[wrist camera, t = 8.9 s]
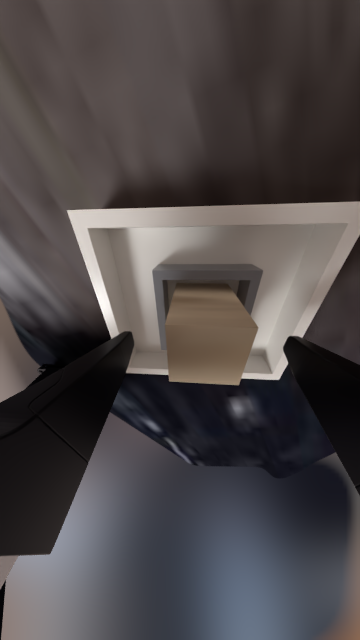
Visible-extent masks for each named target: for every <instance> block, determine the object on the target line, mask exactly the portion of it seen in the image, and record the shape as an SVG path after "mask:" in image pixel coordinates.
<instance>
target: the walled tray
mask: <svg viewBox="0 0 360 640" xmlns="http://www.w3.org/2000/svg"><path fill="white" fill-rule="evenodd" d="M67 212H68V215H69V217H70V220H71V223H72V226H73V229H74V232H75V235H76V238H77V241H78V244H79V246H80V249H81V252H82V255H83V258H84V261H85V264H86V267H87V270H88V272H89V275H90V278H91V281H92V284H93V287H94V290H95V293H96V296H97V299H98V301H99V304H100V307H101V310H102V313H103V316H104V319H105V322H106V325H107V327H108V330H109V333H110V336H111V339H112V338H114V337H115V336H117V335H119V334H120V333H122V332H124V331H131V332H132V335H133V339H134V348H133V351H132V355H131V358H130V362H129V365H128V368H127V371H126V373H140V374H161V375H169V373H168V359H167V346H166V332H165V323H166V319H167V316H168V312H169V308H170V305H171V301H172V298H173V294H174V291H175V287H176V284H177V283H216V284H228V285H229V286H230V288H231V289H232V290H233V292H234V293H235V295H236V296H237V298H238V299H239V300H240V302H241V303H242V305H243V306H244V308H245V309H246V310H247V312H248V313H249V315H250V316H251V317H252V319H253V320H254V322H255V323H256V325H257V326H258V327H259V328H258V331H257V334H256V337H255V340H254V342H253V345H252V348H251V351H250V354H249V357H248V360H247V363H246V366H245V368H244V371H243V374H242V377H241V378H247V379H268V380H279V379H280V377H281V375H282V373H283V371H284V370H285V368H286V366H287V364H288V361H287V359H286V356H285V354H284V351H283V346H284V344H285V342H286V340H287V338H288V337H289V336H299V337H301V338H302V337H303V336H304V334H305V332H306V330H307V328H308V327H309V325H310V323H311V321H312V319H313V318H314V316H315V314H316V312H317V310H318V309H319V307H320V305H321V303H322V301H323V300H324V298H325V296H326V294H327V292H328V291H329V289H330V287H331V285H332V284H333V282H334V280H335V278H336V276H337V275H338V273H339V271H340V269H341V267H342V266H343V264H344V262H345V260H346V258H347V257H348V255H349V253H350V251H351V249H352V248H353V246H354V244H355V242H356V240H357V239H358V237H359V235H360V202H328V203H295V204H261V205H228V206H194V207H160V208H127V209H93V210H67Z"/></svg>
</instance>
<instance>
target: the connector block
mask: <svg viewBox="0 0 360 640" xmlns="http://www.w3.org/2000/svg"><path fill="white" fill-rule="evenodd" d="M258 328H259V327H258V326H257V325H256V323H255V322H254V320H253V319H252V317H251V316H250V315H249V313H248V312H247V310H246V309H245V308H244V306H243V305H242V303H241V302H240V300H239V299H238V298H237V296H236V295H235V293H234V292H233V290H232V289H231V288H230V286H229V285H228V284H216V283H177V284H176V287H175V291H174V294H173V298H172V301H171V305H170V308H169V312H168V316H167V319H166V323H165V332H166V346H167V359H168V373H169V381H173V382H191V383H209V384H227V385H239V383H240V380H241V377H242V374H243V371H244V368H245V366H246V363H247V360H248V357H249V354H250V351H251V348H252V345H253V342H254V340H255V337H256V334H257V331H258Z"/></svg>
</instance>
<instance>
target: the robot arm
mask: <svg viewBox="0 0 360 640" xmlns="http://www.w3.org/2000/svg"><path fill="white" fill-rule="evenodd" d="M133 348H134V339H133V335H132V332H131V331H124V332H122V333H120V334H119V335H117V336H115V337H114V338H112V339H110V340H109V341H107V342H105V343H104V344H102V345H100V346H99V347H97V348H95V349H94V350H92V351H90V352H89V353H87V354H85V355H84V356H82V357H80V358H79V359H77V360H75V361H74V362H72V363H70V364H69V365H67V366H65V368H62V367H40V368H38V369H37V371H38V372H39V374H40V375H39V376H38V377H37V378H36V379H35V380H34V381H33V382H32V383H31V384H30V385H29V386H28V387H27V388H26V389H25V390H23V391H21V392H19V393H17V394H16V395H14V396H12V397H10V398H8V399H6V400H4V401H2V402H1V403H0V640H1V631H2V619H3V607H4V595H5V583H6V578H7V576H8V574H9V572H10V570H11V569H12V567H13V565H14V563H15V561H16V559H17V557H18V556H20V555H46V554H50V553H51V551H52V549H53V547H54V545H55V542H56V540H57V538H58V535H59V533H60V530H61V528H62V526H63V523H64V521H65V518H66V516H67V514H68V511H69V509H70V506H71V504H72V501H73V499H74V497H75V494H76V492H77V489H78V487H79V485H80V482H81V480H82V477H83V475H84V473H85V470H86V468H87V465H88V462H89V460H90V458H91V455H92V453H93V451H94V448H95V446H96V443H97V441H98V438H99V436H100V434H101V431H102V429H103V426H104V424H105V422H106V419H107V417H108V414H109V412H110V409H111V407H112V405H113V402H114V400H115V397H116V395H117V393H118V390H119V388H120V385H121V383H122V381H123V378H124V376H125V373H126V371H127V368H128V365H129V362H130V358H131V355H132V351H133ZM283 351H284V354H285V356H286V359H287V361H288V363H289V366H290V368H291V370H292V373H293V375H294V377H295V379H296V381H297V382H298V384H299V386H300V388H301V390H302V392H303V393H304V395H305V397H306V399H307V401H308V402H309V404H310V406H311V408H312V410H313V411H314V413H315V415H316V417H317V419H318V420H319V422H320V424H321V426H322V428H323V430H324V431H325V433H326V435H327V437H328V439H329V440H330V442H331V444H332V446H333V448H334V449H335V451H336V453H337V455H338V457H339V459H340V460H341V462H342V464H343V466H344V468H345V469H346V471H347V473H348V475H349V477H350V478H351V480H352V482H353V484H354V485H355V488H356V489H357V491H358V493H359V495H360V365H358V364H356V363H354V362H352V361H350V360H348V359H345V358H343V357H341V356H339V355H337V354H335V353H333V352H331V351H329V350H326V349H324V348H322V347H320V346H318V345H316V344H314V343H312V342H310V341H307V340H305V339H303V338H301V337H299V336H289V337H288V338H287V340H286V342H285V344H284V346H283Z"/></svg>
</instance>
